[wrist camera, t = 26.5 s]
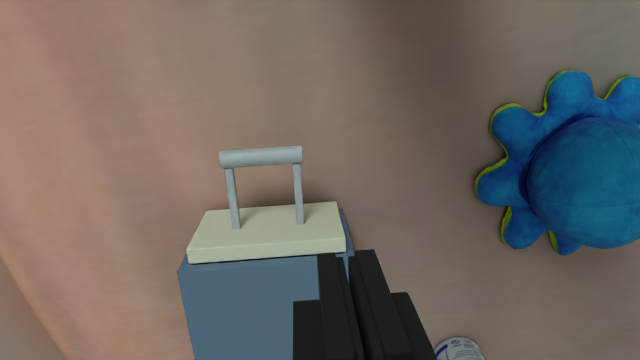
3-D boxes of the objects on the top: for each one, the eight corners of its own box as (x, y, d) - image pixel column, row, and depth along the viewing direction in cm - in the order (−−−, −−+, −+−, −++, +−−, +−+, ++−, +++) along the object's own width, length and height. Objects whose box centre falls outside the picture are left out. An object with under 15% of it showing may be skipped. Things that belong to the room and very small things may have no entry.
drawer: (194, 140, 32) (169, 165, 26) (333, 131, 32) (342, 154, 26) (226, 334, 39) (213, 392, 32) (341, 325, 39) (350, 380, 33)
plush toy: (455, 243, 38) (498, 296, 30) (501, 60, 32) (568, 67, 24) (615, 254, 39) (694, 307, 31) (685, 82, 34) (803, 94, 26)
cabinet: (203, 218, 35) (176, 271, 27) (342, 208, 36) (356, 258, 28) (225, 346, 40) (207, 424, 32) (346, 336, 41) (359, 409, 33)
